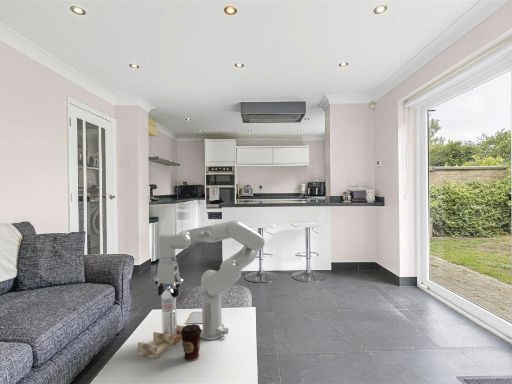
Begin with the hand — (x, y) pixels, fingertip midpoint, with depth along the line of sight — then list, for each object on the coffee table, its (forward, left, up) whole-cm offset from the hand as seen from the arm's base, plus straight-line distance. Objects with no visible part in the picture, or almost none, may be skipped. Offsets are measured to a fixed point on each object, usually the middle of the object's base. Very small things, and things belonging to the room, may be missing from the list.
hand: (168, 295), depth 139 cm
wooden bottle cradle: (0, +5, -22) cm, 22 cm away
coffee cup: (-19, +9, -22) cm, 30 cm away
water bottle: (0, 0, -20) cm, 20 cm away
